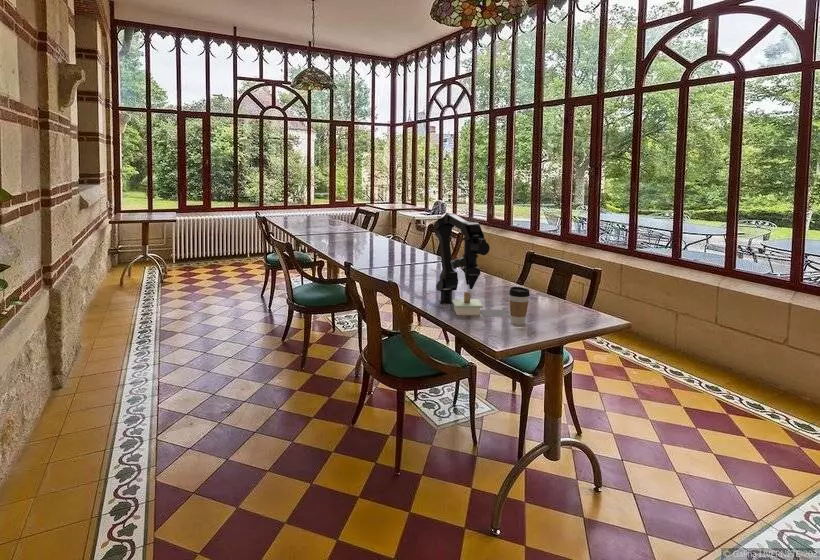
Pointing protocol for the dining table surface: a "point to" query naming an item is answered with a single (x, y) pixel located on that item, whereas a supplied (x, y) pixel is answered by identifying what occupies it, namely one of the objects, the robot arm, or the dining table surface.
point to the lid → (467, 302)
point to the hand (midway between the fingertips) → (469, 286)
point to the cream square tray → (467, 311)
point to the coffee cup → (518, 304)
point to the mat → (494, 313)
